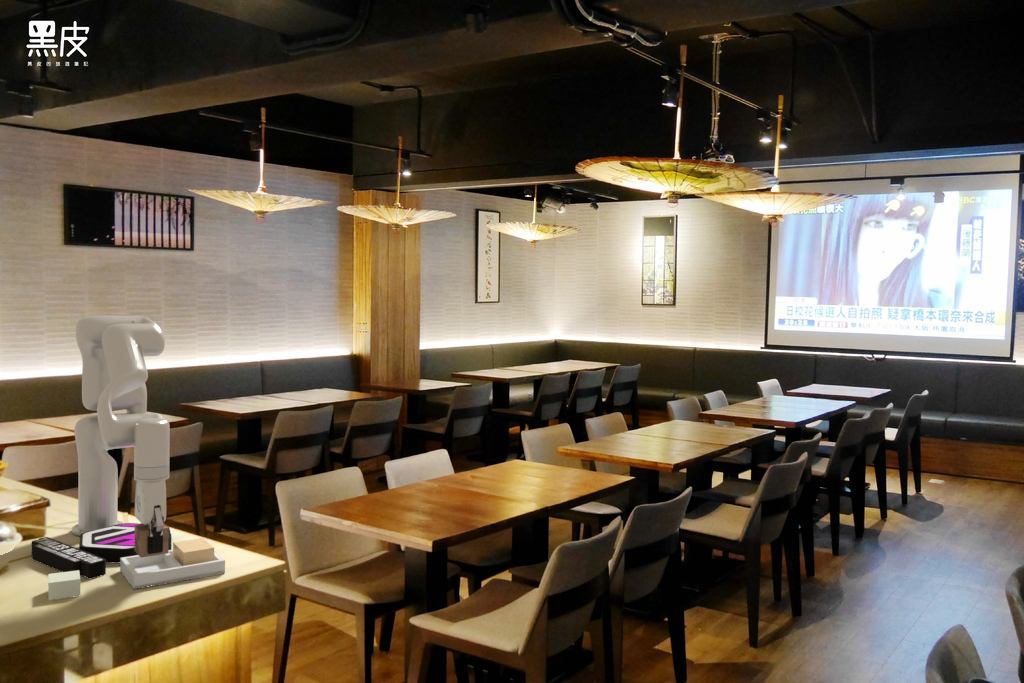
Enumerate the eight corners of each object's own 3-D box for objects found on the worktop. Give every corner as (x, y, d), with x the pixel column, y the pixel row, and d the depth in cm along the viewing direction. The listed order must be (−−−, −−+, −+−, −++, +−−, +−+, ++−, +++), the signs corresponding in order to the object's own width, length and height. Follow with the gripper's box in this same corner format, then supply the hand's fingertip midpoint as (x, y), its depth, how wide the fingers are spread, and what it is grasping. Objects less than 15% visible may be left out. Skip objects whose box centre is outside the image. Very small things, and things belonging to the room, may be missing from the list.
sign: (83, 582, 189) (198, 550, 214) (83, 566, 188) (198, 535, 213) (23, 557, 204) (136, 530, 229) (23, 542, 203) (136, 516, 228)
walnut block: (134, 550, 193) (134, 525, 193) (161, 546, 197) (161, 521, 196) (140, 557, 188) (140, 531, 188) (168, 553, 192) (168, 527, 192)
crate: (120, 571, 195) (120, 547, 195) (206, 556, 207) (206, 534, 207) (134, 589, 184) (134, 564, 184) (224, 573, 196) (225, 549, 196)
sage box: (48, 591, 182) (48, 573, 182) (79, 587, 185) (79, 570, 185) (48, 601, 177) (48, 583, 176) (80, 597, 180) (80, 578, 179)
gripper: (125, 466, 196) (125, 541, 197) (143, 481, 182) (143, 562, 183) (159, 463, 200) (158, 536, 202) (179, 478, 187) (178, 556, 188)
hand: (151, 548), depth 192 cm, fingers closed on walnut block, 6 cm apart
